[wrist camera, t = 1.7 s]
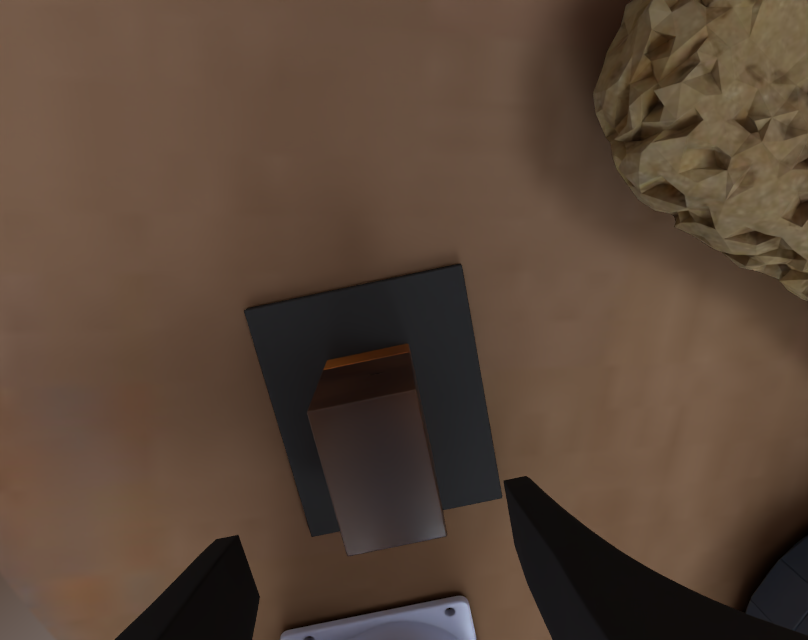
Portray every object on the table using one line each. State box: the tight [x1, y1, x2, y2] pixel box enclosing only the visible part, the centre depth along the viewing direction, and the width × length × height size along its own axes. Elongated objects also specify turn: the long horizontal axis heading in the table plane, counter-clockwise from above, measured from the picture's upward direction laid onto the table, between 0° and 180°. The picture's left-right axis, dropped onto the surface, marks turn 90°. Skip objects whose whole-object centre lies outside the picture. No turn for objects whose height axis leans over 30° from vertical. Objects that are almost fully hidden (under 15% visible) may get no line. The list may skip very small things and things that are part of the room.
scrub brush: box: [307, 344, 447, 556], centre depth 17 cm, size 4×6×5 cm, turn 12°
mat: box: [244, 264, 502, 537], centre depth 20 cm, size 9×11×1 cm
